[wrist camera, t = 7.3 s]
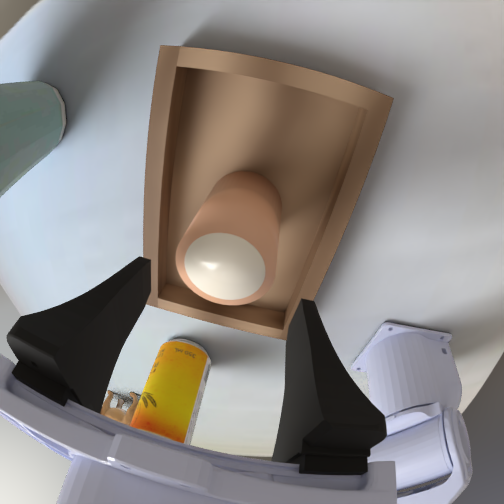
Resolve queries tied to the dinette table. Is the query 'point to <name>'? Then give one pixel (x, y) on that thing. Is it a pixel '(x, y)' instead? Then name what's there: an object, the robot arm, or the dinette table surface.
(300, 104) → the tray
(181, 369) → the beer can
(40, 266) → the dinette table surface
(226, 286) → the tan and white cylinder
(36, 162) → the disposable coffee cup
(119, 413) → the lion figurine
